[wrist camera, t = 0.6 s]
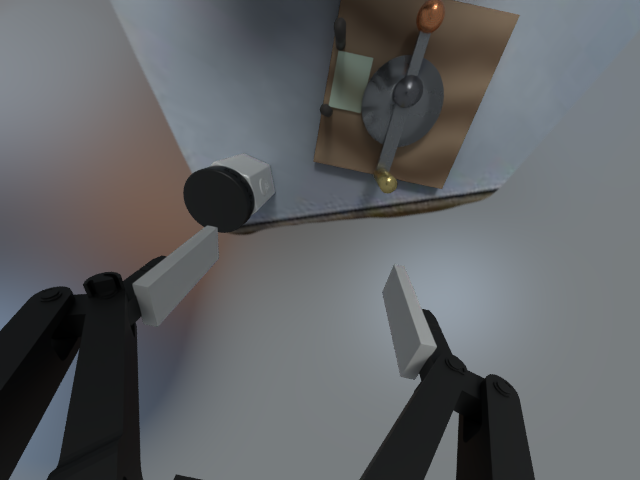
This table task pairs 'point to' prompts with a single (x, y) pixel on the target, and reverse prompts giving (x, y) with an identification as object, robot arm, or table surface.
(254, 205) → the jar
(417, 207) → the table surface
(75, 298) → the robot arm
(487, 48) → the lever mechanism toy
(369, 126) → the grey metal domed piece
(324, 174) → the table surface
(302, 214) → the table surface
